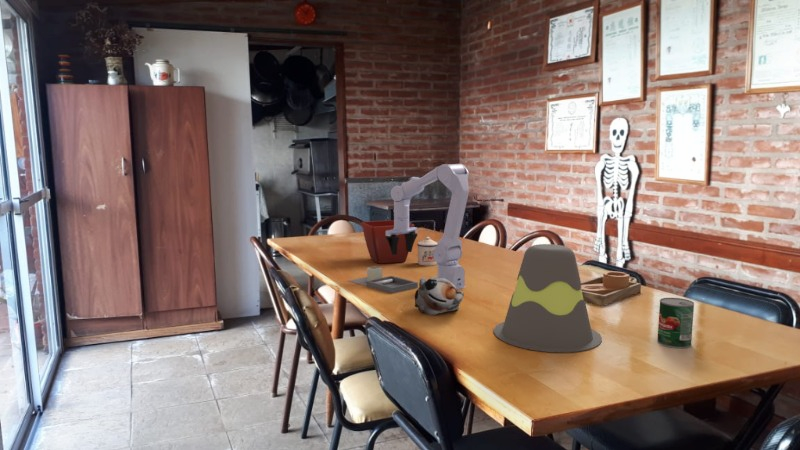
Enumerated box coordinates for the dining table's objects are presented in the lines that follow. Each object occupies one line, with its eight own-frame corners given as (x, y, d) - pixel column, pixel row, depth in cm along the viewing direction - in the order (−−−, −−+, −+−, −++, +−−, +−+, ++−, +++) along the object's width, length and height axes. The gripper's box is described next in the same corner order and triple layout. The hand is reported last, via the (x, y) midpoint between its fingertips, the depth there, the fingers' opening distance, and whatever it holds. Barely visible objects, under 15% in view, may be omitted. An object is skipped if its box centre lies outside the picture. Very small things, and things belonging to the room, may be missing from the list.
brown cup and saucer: (618, 290, 201) (619, 270, 200) (633, 296, 193) (634, 275, 192) (572, 293, 196) (573, 273, 196) (585, 299, 188) (586, 279, 188)
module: (382, 281, 212) (382, 266, 211) (374, 282, 209) (374, 268, 208) (375, 279, 214) (375, 265, 214) (367, 281, 212) (367, 266, 211)
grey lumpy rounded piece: (464, 306, 180) (473, 273, 171) (452, 331, 170) (460, 297, 162) (420, 289, 183) (427, 256, 175) (406, 313, 174) (412, 279, 166)
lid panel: (391, 282, 212) (391, 278, 212) (366, 287, 204) (366, 284, 204) (372, 277, 220) (372, 274, 220) (347, 282, 212) (347, 278, 212)
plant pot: (361, 257, 259) (361, 221, 257) (401, 255, 265) (401, 219, 263) (372, 266, 241) (372, 226, 239) (415, 263, 247) (415, 224, 245)
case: (417, 288, 202) (417, 282, 202) (392, 294, 194) (392, 288, 194) (391, 282, 212) (391, 275, 212) (366, 287, 204) (366, 281, 204)
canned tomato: (652, 343, 146) (654, 301, 144) (664, 336, 151) (666, 295, 150) (684, 351, 140) (687, 307, 139) (696, 343, 146) (699, 301, 144)
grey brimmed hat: (523, 313, 172) (525, 235, 169) (617, 332, 155) (621, 245, 151) (474, 337, 151) (475, 247, 148) (576, 362, 133) (580, 261, 130)
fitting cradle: (640, 291, 197) (641, 283, 197) (604, 305, 180) (604, 296, 180) (600, 284, 208) (600, 276, 208) (562, 296, 191) (562, 287, 191)
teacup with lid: (421, 266, 240) (421, 239, 238) (414, 262, 248) (414, 236, 247) (447, 264, 244) (448, 237, 242) (439, 260, 252) (439, 234, 251)
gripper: (408, 215, 223) (408, 249, 225) (380, 218, 213) (380, 253, 215) (421, 216, 218) (420, 251, 220) (392, 219, 208) (392, 256, 210)
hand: (401, 252), depth 217 cm, fingers open, 7 cm apart
